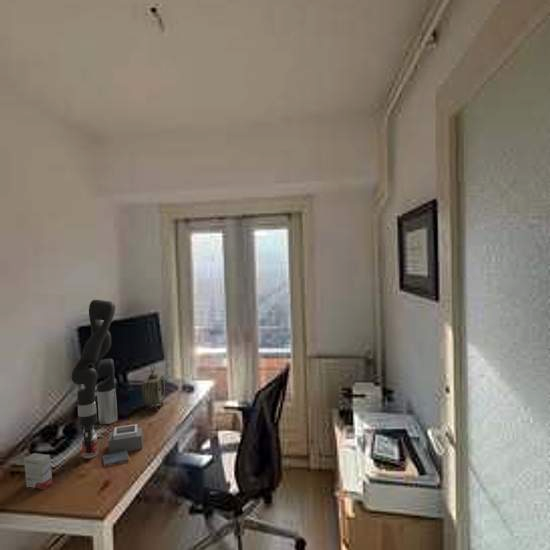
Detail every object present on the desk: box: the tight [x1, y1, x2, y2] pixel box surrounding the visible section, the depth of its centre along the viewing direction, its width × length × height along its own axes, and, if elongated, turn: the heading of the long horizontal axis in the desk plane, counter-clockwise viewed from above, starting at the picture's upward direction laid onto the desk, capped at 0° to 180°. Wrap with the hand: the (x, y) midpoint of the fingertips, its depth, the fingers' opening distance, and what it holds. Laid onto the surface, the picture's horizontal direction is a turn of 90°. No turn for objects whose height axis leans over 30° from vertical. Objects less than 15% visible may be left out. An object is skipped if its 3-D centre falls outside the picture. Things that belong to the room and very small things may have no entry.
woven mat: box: [102, 450, 131, 468], centre depth 187 cm, size 10×11×2 cm
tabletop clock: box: [141, 364, 166, 412], centre depth 247 cm, size 14×9×25 cm, turn 179°
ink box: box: [23, 452, 54, 490], centre depth 169 cm, size 9×5×12 cm, turn 71°
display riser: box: [108, 423, 144, 455], centre depth 199 cm, size 10×14×8 cm
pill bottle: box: [81, 429, 99, 459], centre depth 192 cm, size 6×6×11 cm
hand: (90, 449), depth 192 cm, fingers closed on pill bottle, 6 cm apart
